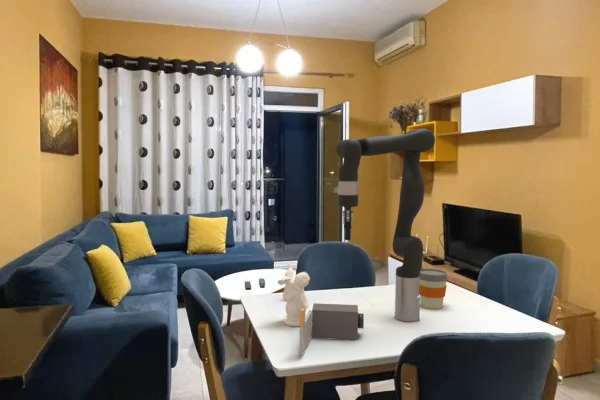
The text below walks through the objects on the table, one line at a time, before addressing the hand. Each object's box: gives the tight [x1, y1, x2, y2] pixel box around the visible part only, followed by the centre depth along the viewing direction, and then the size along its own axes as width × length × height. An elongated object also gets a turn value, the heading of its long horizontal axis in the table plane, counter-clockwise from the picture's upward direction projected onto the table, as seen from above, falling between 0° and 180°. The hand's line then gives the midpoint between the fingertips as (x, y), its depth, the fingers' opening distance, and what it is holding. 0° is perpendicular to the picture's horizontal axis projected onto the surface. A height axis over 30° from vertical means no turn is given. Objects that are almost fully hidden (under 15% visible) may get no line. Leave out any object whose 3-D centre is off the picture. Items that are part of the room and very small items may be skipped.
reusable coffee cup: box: [419, 268, 448, 310], centre depth 198 cm, size 13×13×15 cm
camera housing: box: [311, 303, 365, 341], centre depth 162 cm, size 18×8×10 cm, turn 84°
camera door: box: [298, 308, 312, 356], centre depth 150 cm, size 17×1×14 cm, turn 169°
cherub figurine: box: [277, 263, 311, 327], centre depth 174 cm, size 12×12×22 cm
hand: (347, 239), depth 170 cm, fingers closed
